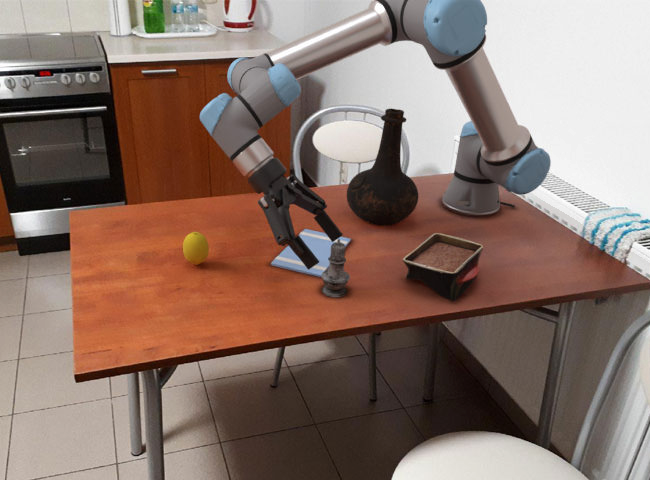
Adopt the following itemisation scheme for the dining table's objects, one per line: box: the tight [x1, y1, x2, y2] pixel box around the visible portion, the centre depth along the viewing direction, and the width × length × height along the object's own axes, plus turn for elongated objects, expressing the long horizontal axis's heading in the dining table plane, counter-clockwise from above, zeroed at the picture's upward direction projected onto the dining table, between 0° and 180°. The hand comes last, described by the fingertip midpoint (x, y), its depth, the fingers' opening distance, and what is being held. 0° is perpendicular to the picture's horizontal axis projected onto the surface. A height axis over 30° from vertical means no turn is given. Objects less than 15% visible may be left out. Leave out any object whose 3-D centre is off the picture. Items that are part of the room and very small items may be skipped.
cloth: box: [270, 228, 352, 278], centre depth 147 cm, size 12×20×1 cm, turn 156°
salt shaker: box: [321, 239, 351, 298], centre depth 129 cm, size 6×6×12 cm
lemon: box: [182, 231, 210, 266], centre depth 138 cm, size 6×6×8 cm
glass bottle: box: [346, 108, 419, 227], centre depth 157 cm, size 18×18×28 cm
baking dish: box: [402, 232, 484, 302], centre depth 136 cm, size 14×18×10 cm
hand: (326, 251), depth 129 cm, fingers open, 13 cm apart
